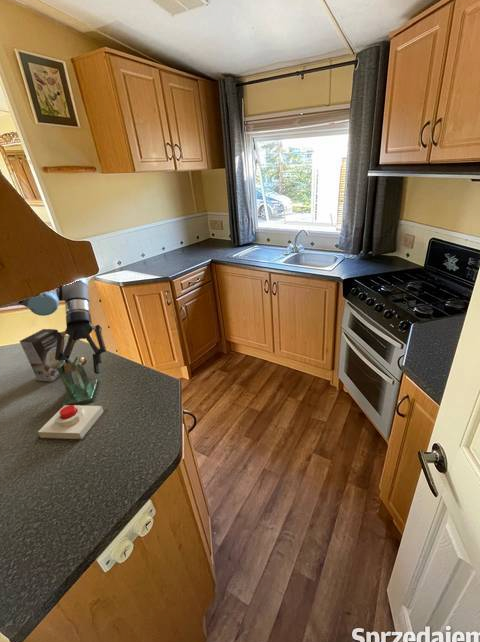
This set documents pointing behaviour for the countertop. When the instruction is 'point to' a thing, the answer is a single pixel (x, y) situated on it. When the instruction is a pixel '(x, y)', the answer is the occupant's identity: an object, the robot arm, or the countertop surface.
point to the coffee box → (42, 354)
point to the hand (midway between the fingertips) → (83, 376)
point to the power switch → (77, 391)
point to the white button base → (71, 423)
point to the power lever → (69, 367)
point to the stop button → (68, 412)
